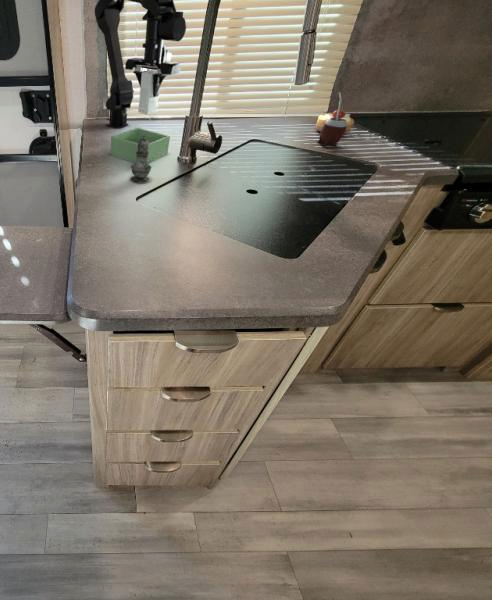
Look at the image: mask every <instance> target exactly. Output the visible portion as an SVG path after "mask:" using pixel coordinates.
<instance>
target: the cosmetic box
mask: <svg viewBox="0 0 492 600" xmlns="http://www.w3.org/2000/svg"><path fill="white" fill-rule="evenodd" d="M156 73H157V70H150V71H146V72H142V77H141V88H140V87H139V88H140V89H139V102H138V113H139V114H141V115H142V114H143V115H151V114H154V113H157V111H158V104H159V95H160V89H159V90H158V93H157V95H156V97H153V74H156Z"/></svg>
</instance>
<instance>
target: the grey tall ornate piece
mask: <svg viewBox="0 0 492 600" xmlns="http://www.w3.org/2000/svg"><path fill="white" fill-rule="evenodd" d="M148 145H149V141H148V140H147V139H146V138H145V135H144V136H143V138H142V139H140V140H139V141H138V150H137V152H136V154H137V159H136V163H135V162H134V163H133V164H131V165H130V169H131V173H132V175H133V176H132V177H130V181H132V182H133V183H134V184H135V183H136V184H147V183H149V182H150V178H149V177H148V176H149V174H150V172H151V171H152V168H153V167H152V165H150V164H149V162H148V163H147V158H148V154H149V152H148Z"/></svg>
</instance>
